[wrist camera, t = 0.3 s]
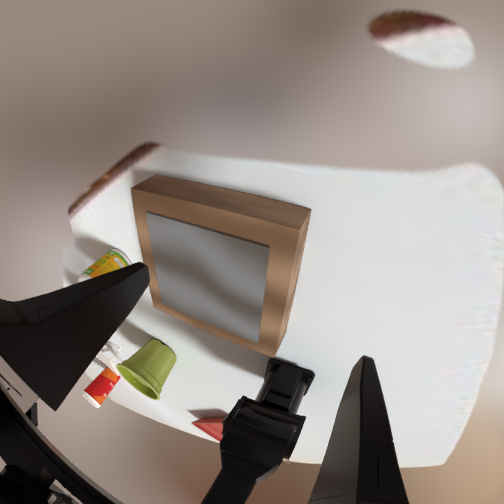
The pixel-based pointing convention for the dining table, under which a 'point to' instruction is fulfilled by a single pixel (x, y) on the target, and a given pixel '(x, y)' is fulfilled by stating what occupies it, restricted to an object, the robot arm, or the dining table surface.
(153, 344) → the plant pot
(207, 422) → the plant saucer
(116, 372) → the miniature table
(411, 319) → the dining table surface
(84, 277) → the supplement bottle
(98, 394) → the paper cup
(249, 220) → the framed mirror
